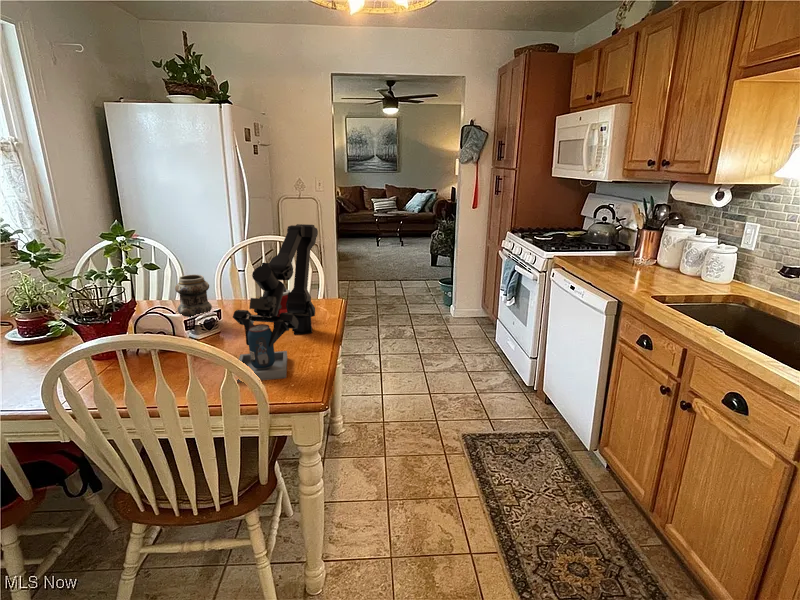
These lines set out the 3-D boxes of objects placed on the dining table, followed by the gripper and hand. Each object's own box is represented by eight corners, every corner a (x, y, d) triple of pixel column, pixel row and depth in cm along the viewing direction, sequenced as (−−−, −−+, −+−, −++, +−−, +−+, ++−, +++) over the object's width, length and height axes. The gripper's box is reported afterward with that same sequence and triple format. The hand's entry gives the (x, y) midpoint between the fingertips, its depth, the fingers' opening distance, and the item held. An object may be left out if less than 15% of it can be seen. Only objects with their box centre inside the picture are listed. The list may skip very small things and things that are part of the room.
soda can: (266, 358, 140) (262, 321, 136) (280, 363, 136) (276, 326, 132) (246, 366, 135) (241, 328, 131) (260, 372, 131) (256, 333, 127)
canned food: (294, 315, 183) (292, 288, 180) (289, 321, 176) (287, 294, 172) (275, 314, 183) (273, 288, 180) (269, 321, 176) (267, 294, 172)
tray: (287, 358, 144) (286, 350, 143) (286, 378, 131) (285, 370, 130) (241, 361, 141) (240, 354, 140) (235, 382, 128) (234, 374, 127)
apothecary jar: (217, 322, 174) (212, 277, 169) (184, 329, 167) (177, 282, 161) (208, 314, 183) (202, 271, 178) (175, 321, 176) (169, 276, 170)
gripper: (232, 283, 133) (215, 332, 127) (292, 287, 130) (278, 337, 123) (247, 301, 143) (233, 347, 136) (303, 304, 140) (292, 351, 133)
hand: (258, 345), depth 132 cm, fingers closed on soda can, 7 cm apart
